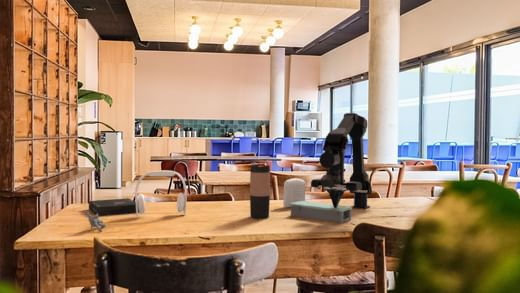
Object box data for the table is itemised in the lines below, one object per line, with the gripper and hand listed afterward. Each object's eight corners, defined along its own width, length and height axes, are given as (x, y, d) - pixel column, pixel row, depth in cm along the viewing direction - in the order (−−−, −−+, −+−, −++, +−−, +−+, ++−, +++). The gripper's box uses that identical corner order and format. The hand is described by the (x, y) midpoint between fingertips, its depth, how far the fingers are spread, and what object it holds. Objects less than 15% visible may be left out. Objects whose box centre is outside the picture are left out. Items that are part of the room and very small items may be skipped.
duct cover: (300, 205, 195) (301, 200, 195) (351, 211, 182) (352, 206, 182) (289, 208, 187) (289, 203, 187) (341, 215, 174) (341, 210, 174)
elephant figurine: (117, 228, 163) (104, 224, 155) (104, 241, 163) (90, 237, 154) (100, 208, 167) (87, 203, 158) (88, 220, 166) (74, 215, 158)
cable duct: (301, 212, 195) (301, 203, 194) (351, 219, 182) (351, 209, 182) (290, 215, 188) (290, 205, 188) (341, 222, 175) (342, 212, 175)
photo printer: (300, 204, 214) (300, 177, 213) (306, 206, 210) (306, 178, 210) (281, 206, 208) (282, 178, 208) (287, 208, 205) (288, 179, 204)
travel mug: (255, 219, 179) (255, 166, 179) (246, 216, 186) (246, 165, 185) (273, 218, 183) (273, 166, 182) (263, 214, 190) (264, 164, 189)
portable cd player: (141, 213, 192) (141, 203, 192) (97, 217, 183) (97, 207, 183) (129, 207, 206) (129, 198, 206) (88, 210, 197) (88, 201, 197)
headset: (185, 213, 191) (185, 169, 190) (188, 216, 184) (188, 170, 183) (134, 216, 185) (133, 170, 184) (135, 219, 178) (135, 171, 177)
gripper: (303, 166, 178) (303, 207, 178) (350, 169, 167) (349, 213, 168) (318, 164, 187) (317, 203, 188) (363, 167, 176) (362, 209, 177)
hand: (335, 207), depth 180 cm, fingers closed, pressing on duct cover
